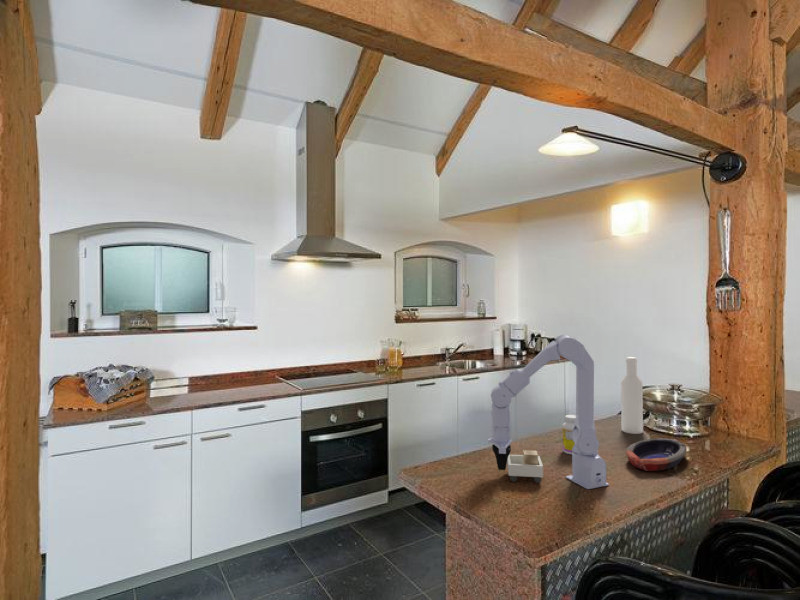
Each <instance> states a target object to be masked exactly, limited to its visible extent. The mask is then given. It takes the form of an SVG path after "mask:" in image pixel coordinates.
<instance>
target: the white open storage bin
mask: <svg viewBox="0 0 800 600" xmlns="http://www.w3.org/2000/svg"><path fill="white" fill-rule="evenodd" d="M506 469H507V473H508V476H509V479H510V481H511V482H514V483H515V482H517V481H518V477H529V478H530V477H531V478H533V480H534V482H535V483H536V484H540V483H541V482H542V478H544V465H543V462H542V459H541V456H540V455H538V465H525V464H523V454H509V456H508V459H507V465H506Z"/></svg>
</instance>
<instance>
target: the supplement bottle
mask: <svg viewBox="0 0 800 600" xmlns="http://www.w3.org/2000/svg"><path fill="white" fill-rule="evenodd" d="M564 419H565V422H564V423H562V451H563V452H564V453H565V454H567V455H571V456H572V448H573V446H574V444H575V443H574V442H573V440H572V438H571V432H572V430H573V428H574V422H575V419H576V414H567V415H565V416H564Z"/></svg>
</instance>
